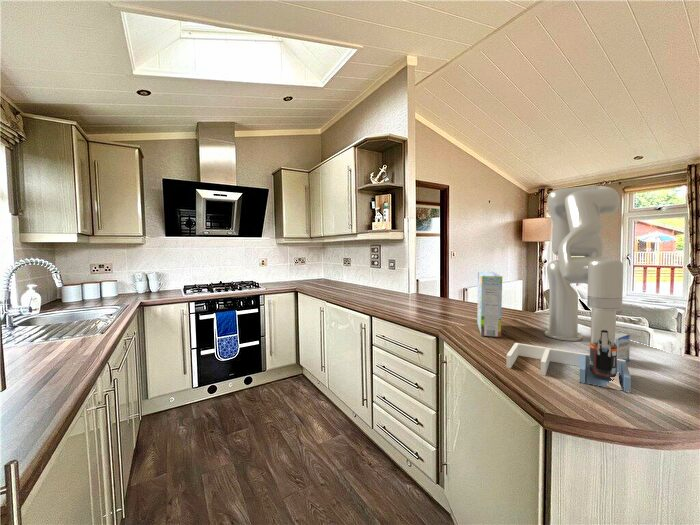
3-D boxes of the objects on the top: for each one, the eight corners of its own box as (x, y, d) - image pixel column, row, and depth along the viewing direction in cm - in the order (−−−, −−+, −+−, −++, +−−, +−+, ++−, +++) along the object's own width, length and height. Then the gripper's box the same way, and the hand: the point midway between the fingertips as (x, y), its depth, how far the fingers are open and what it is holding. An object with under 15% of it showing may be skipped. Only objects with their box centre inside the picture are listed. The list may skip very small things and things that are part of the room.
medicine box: (618, 365, 94) (618, 338, 93) (600, 361, 98) (601, 335, 97) (629, 360, 98) (630, 334, 97) (612, 356, 102) (613, 331, 101)
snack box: (503, 338, 124) (503, 276, 122) (480, 336, 127) (480, 275, 125) (496, 324, 144) (496, 271, 143) (476, 323, 147) (476, 271, 146)
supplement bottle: (622, 378, 82) (623, 338, 82) (597, 377, 84) (598, 337, 83) (608, 369, 88) (608, 332, 88) (585, 368, 90) (585, 331, 89)
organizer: (515, 353, 106) (515, 342, 106) (625, 373, 89) (625, 360, 88) (506, 367, 95) (506, 355, 95) (630, 393, 77) (630, 378, 77)
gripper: (587, 296, 94) (586, 353, 95) (587, 307, 80) (586, 373, 81) (619, 299, 89) (618, 358, 90) (625, 310, 76) (623, 380, 77)
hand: (603, 364), depth 86 cm, fingers closed on supplement bottle, 5 cm apart
